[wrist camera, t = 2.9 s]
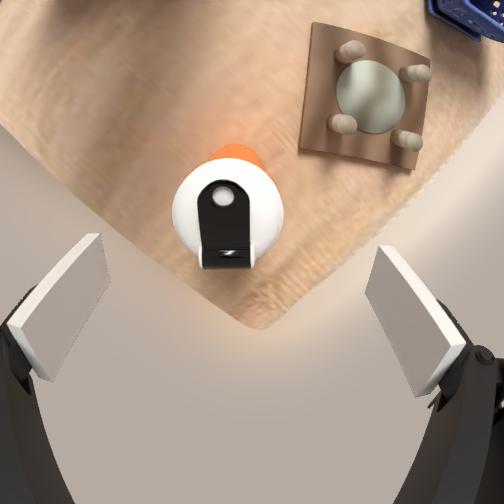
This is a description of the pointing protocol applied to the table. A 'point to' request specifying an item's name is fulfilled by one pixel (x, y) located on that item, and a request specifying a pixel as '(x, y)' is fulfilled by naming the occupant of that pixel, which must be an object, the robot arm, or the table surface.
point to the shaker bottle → (228, 210)
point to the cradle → (364, 97)
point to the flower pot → (471, 17)
